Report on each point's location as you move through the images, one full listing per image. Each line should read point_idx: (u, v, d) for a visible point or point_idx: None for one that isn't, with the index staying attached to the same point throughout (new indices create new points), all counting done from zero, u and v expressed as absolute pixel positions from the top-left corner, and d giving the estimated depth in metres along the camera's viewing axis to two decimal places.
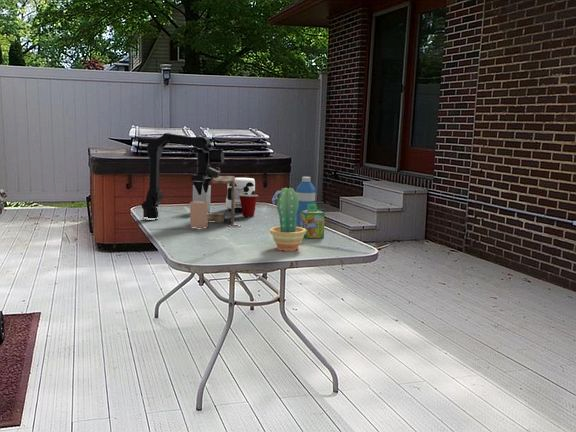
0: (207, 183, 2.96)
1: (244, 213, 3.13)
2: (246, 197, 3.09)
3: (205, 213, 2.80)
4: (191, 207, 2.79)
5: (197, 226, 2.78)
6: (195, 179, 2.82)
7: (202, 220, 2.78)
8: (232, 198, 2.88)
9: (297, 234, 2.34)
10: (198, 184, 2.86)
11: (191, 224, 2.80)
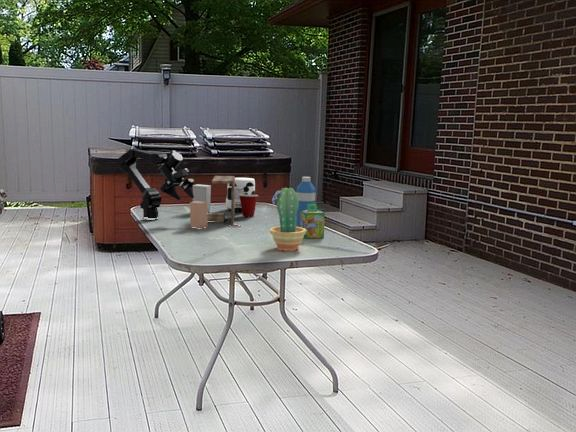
0: (189, 189, 2.88)
1: (244, 213, 3.13)
2: (246, 197, 3.09)
3: (205, 213, 2.80)
4: (191, 207, 2.79)
5: (197, 226, 2.78)
6: (163, 188, 2.78)
7: (202, 220, 2.78)
8: (232, 198, 2.88)
9: (297, 234, 2.34)
10: (172, 191, 2.80)
11: (191, 224, 2.80)
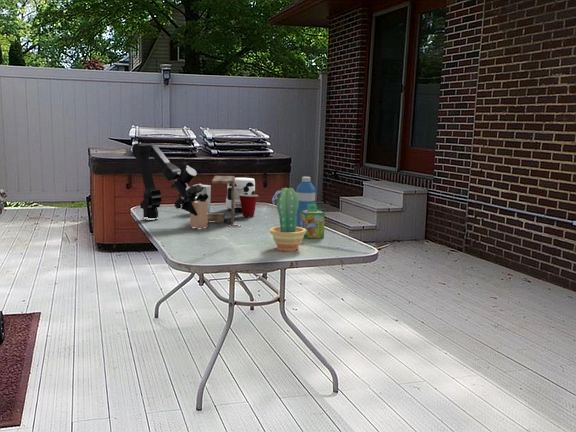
0: None
1: (244, 213, 3.13)
2: (246, 197, 3.09)
3: (205, 213, 2.80)
4: None
5: (197, 226, 2.78)
6: (177, 204, 2.74)
7: (202, 220, 2.78)
8: (232, 198, 2.88)
9: (297, 234, 2.34)
10: (188, 207, 2.78)
11: (191, 224, 2.80)
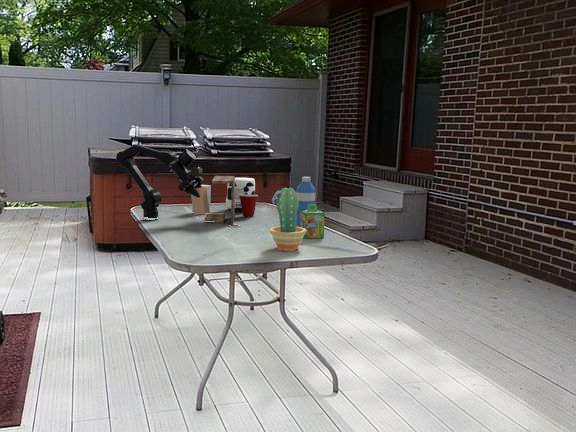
0: (199, 187, 2.93)
1: (244, 213, 3.13)
2: (246, 197, 3.09)
3: (206, 198, 2.91)
4: None
5: (202, 211, 2.88)
6: (182, 187, 2.82)
7: (205, 204, 2.89)
8: (232, 198, 2.88)
9: (297, 234, 2.34)
10: (191, 189, 2.86)
11: (194, 211, 2.89)
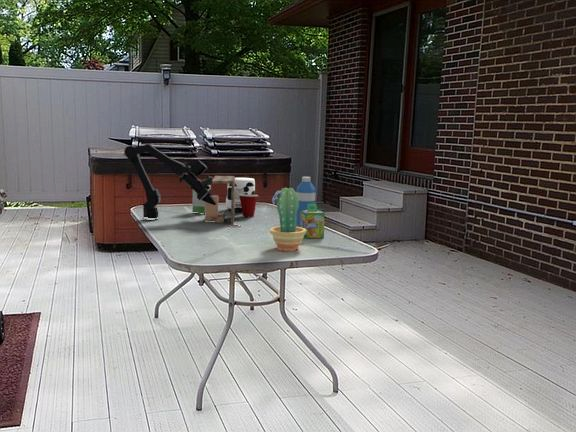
0: None
1: (244, 213, 3.13)
2: (246, 197, 3.09)
3: None
4: None
5: None
6: (202, 196, 2.90)
7: (217, 212, 3.00)
8: (232, 198, 2.88)
9: (297, 234, 2.34)
10: (207, 198, 2.95)
11: None
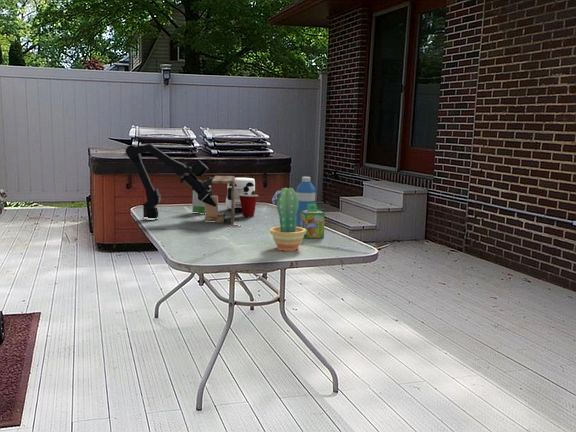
0: None
1: (244, 213, 3.13)
2: (246, 197, 3.09)
3: None
4: None
5: None
6: (202, 196, 2.90)
7: (217, 212, 3.00)
8: (232, 198, 2.88)
9: (297, 234, 2.34)
10: (207, 199, 2.94)
11: None
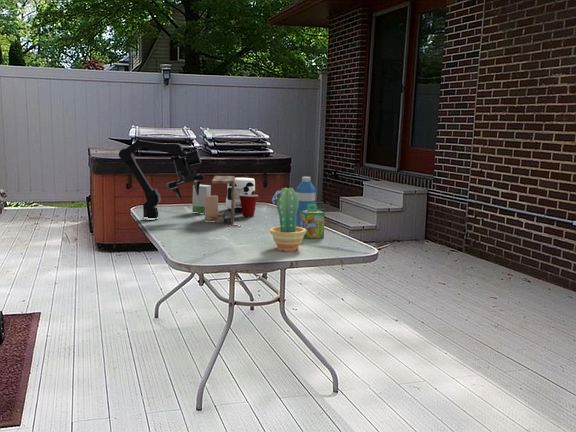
0: (196, 186, 2.99)
1: (244, 213, 3.13)
2: (246, 197, 3.09)
3: None
4: (207, 201, 2.97)
5: None
6: (167, 187, 2.93)
7: (217, 212, 3.00)
8: (232, 198, 2.88)
9: (297, 234, 2.34)
10: (176, 190, 2.95)
11: None
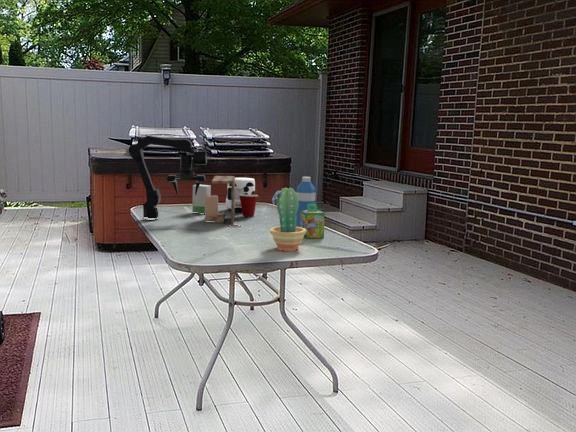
0: None
1: (244, 213, 3.13)
2: (246, 197, 3.09)
3: None
4: (207, 201, 2.97)
5: None
6: None
7: (217, 213, 3.00)
8: (232, 198, 2.88)
9: (297, 234, 2.34)
10: None
11: None
